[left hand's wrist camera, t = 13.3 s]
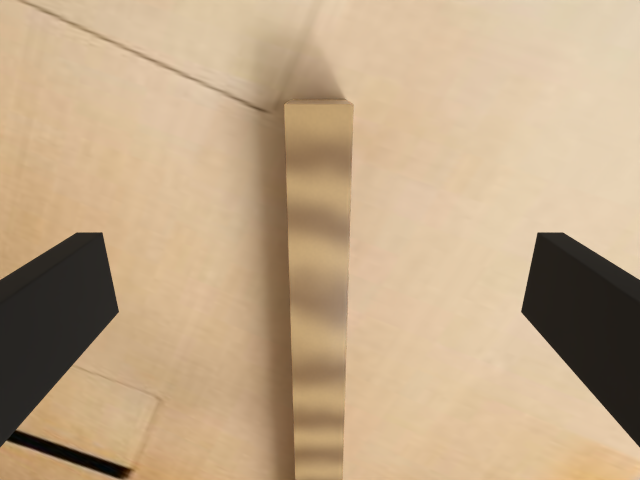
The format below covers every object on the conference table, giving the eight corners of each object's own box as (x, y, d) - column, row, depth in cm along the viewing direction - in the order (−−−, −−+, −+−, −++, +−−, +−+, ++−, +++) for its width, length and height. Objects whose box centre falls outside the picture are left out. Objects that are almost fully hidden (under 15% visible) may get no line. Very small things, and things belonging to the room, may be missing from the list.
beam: (291, 99, 37) (283, 104, 29) (346, 99, 37) (353, 103, 29) (301, 517, 57) (298, 587, 49) (336, 517, 57) (339, 587, 49)
